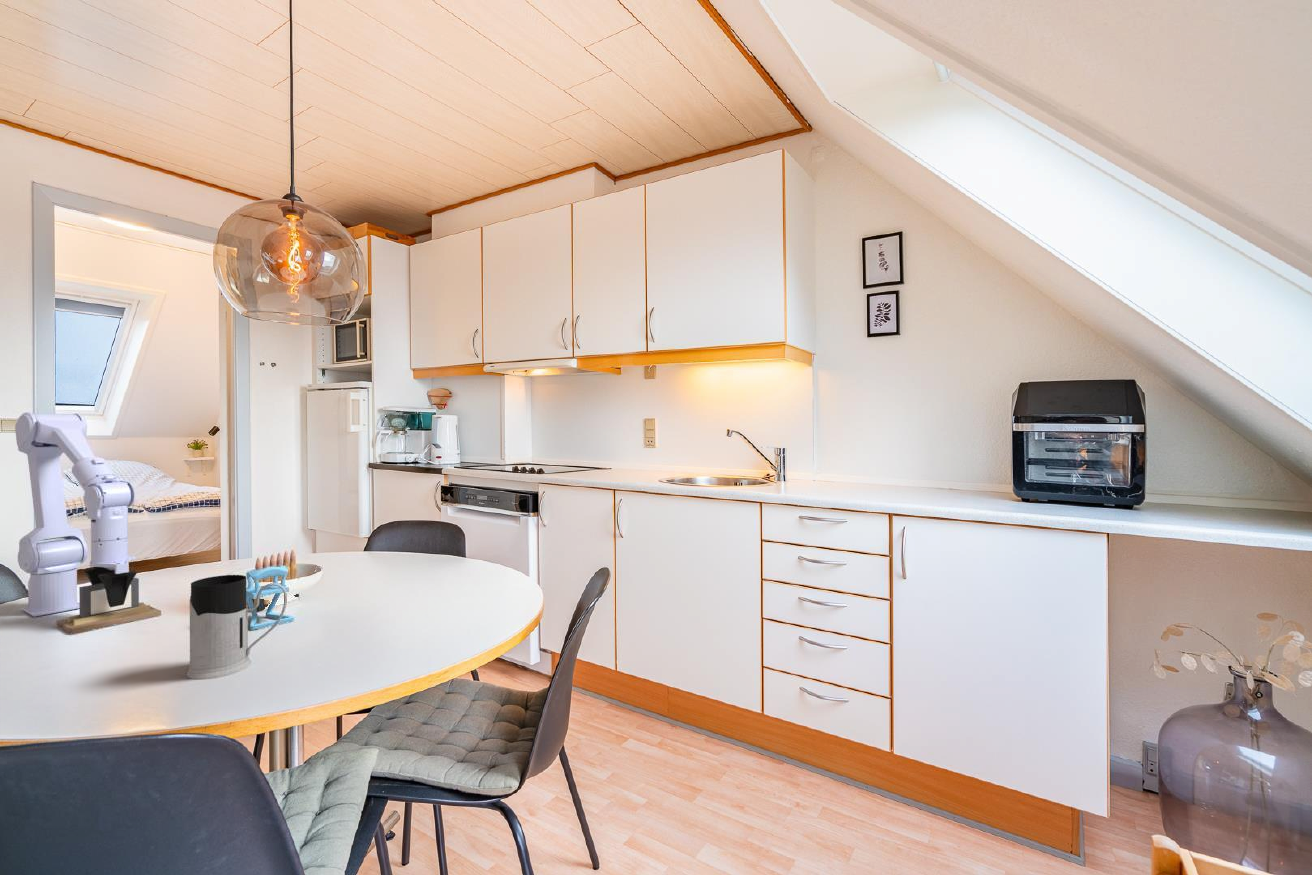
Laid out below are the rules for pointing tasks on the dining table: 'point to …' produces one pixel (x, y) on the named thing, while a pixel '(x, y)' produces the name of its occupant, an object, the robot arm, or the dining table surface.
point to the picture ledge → (107, 619)
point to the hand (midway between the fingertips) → (110, 602)
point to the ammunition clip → (290, 575)
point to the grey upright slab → (105, 599)
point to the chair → (269, 590)
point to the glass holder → (221, 626)
